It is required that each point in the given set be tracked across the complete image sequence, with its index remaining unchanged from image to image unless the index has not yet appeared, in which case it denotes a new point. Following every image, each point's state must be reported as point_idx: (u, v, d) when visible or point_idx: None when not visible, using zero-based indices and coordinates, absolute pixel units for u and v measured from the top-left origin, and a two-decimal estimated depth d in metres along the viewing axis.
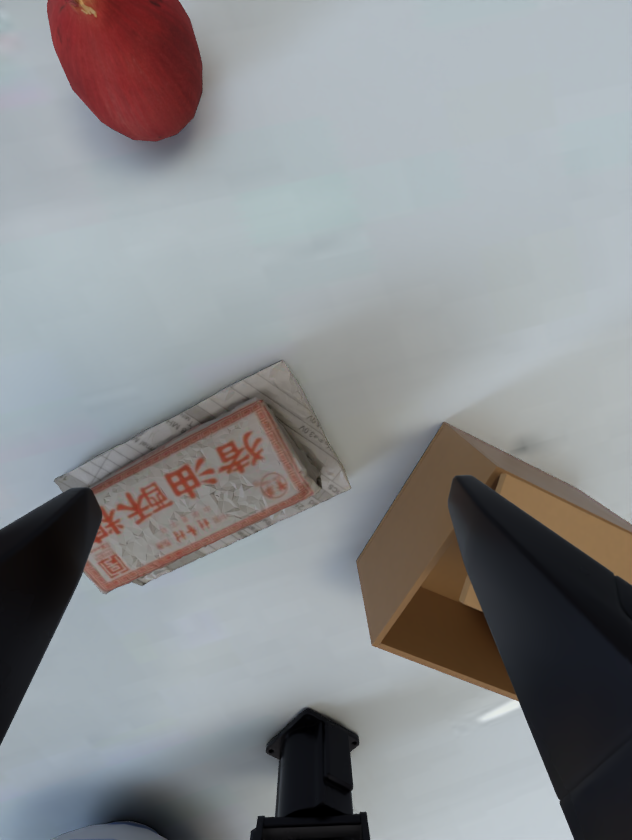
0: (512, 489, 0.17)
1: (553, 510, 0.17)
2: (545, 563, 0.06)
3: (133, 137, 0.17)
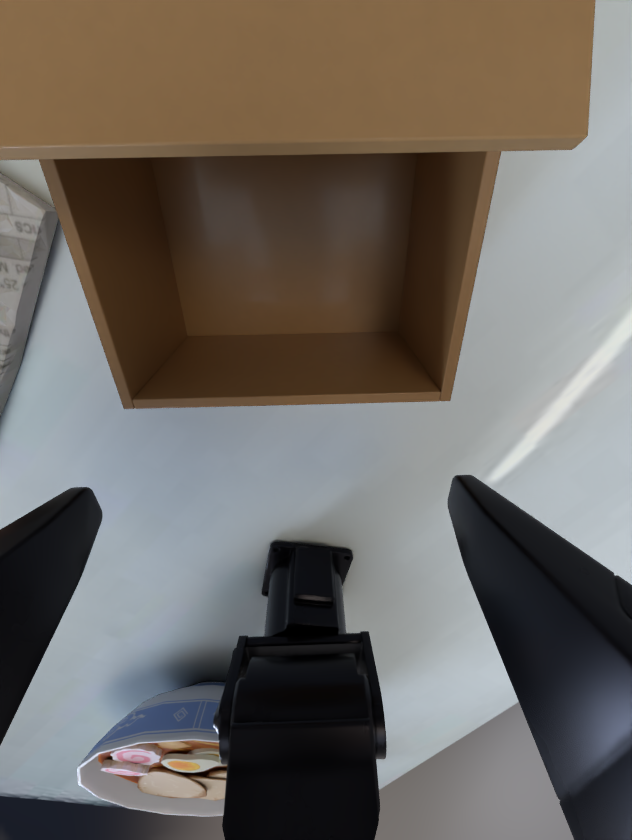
0: None
1: None
2: (545, 563, 0.06)
3: None
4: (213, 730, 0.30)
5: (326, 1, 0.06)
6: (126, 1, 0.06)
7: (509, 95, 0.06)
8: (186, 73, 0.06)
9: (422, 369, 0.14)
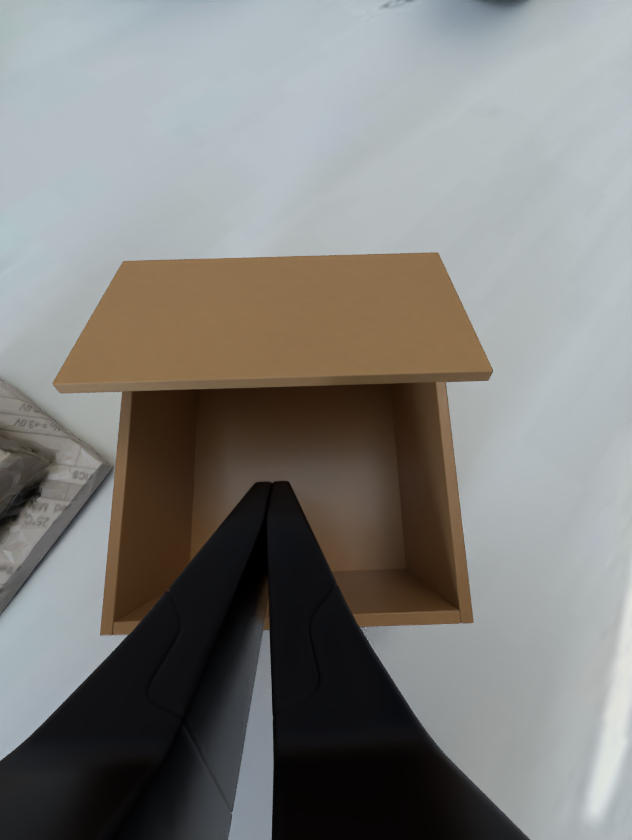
0: (133, 268, 0.13)
1: (201, 267, 0.13)
2: (277, 572, 0.06)
3: None
4: None
5: (318, 324, 0.11)
6: (209, 326, 0.11)
7: (434, 355, 0.10)
8: (235, 350, 0.10)
9: (435, 593, 0.13)
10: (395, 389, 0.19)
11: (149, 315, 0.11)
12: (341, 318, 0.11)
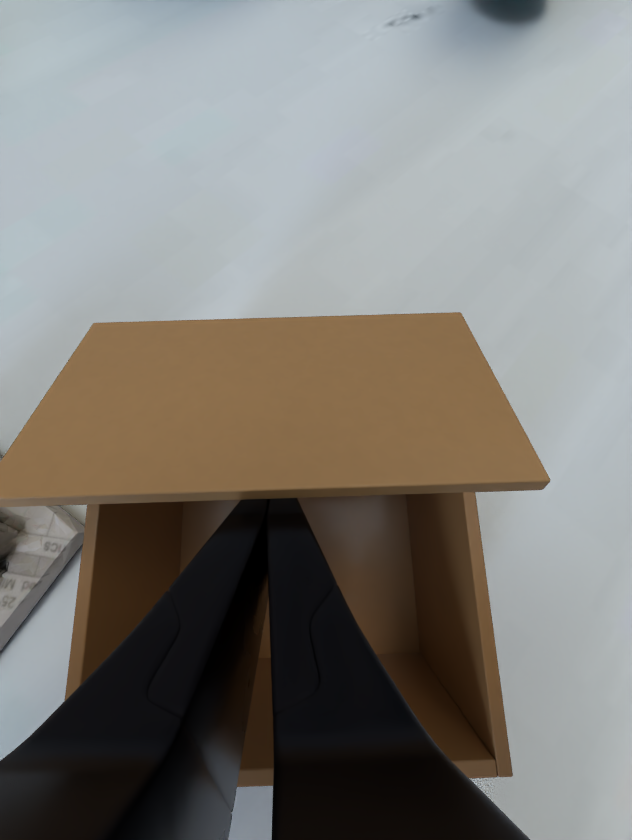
0: (103, 332, 0.11)
1: (184, 331, 0.11)
2: (277, 572, 0.06)
3: None
4: None
5: (323, 409, 0.09)
6: (186, 412, 0.09)
7: (471, 455, 0.08)
8: (217, 448, 0.08)
9: (460, 715, 0.11)
10: None
11: (114, 396, 0.09)
12: (350, 401, 0.09)
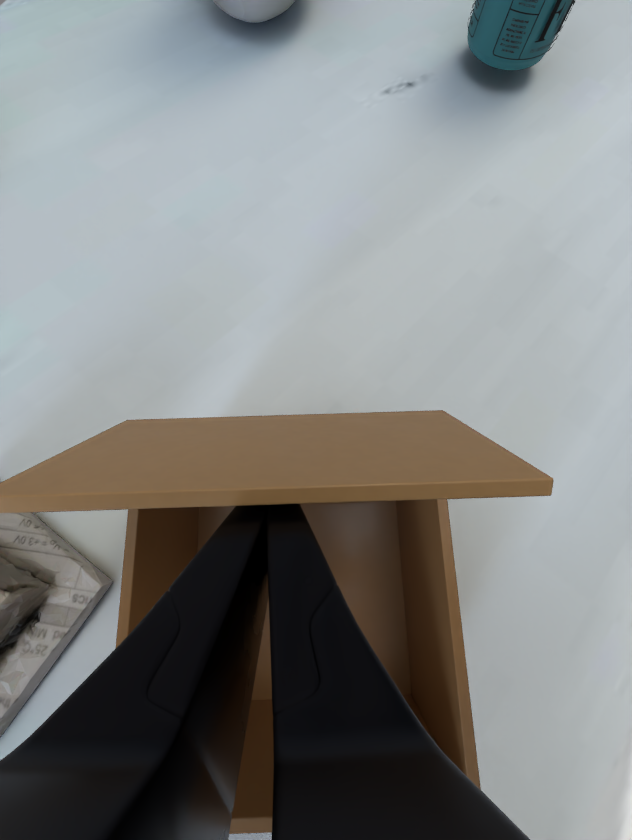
0: (133, 423, 0.13)
1: (203, 421, 0.13)
2: (276, 572, 0.06)
3: None
4: None
5: (323, 450, 0.09)
6: (195, 452, 0.09)
7: (469, 468, 0.08)
8: (221, 468, 0.08)
9: None
10: (399, 503, 0.19)
11: (132, 447, 0.10)
12: (349, 446, 0.10)
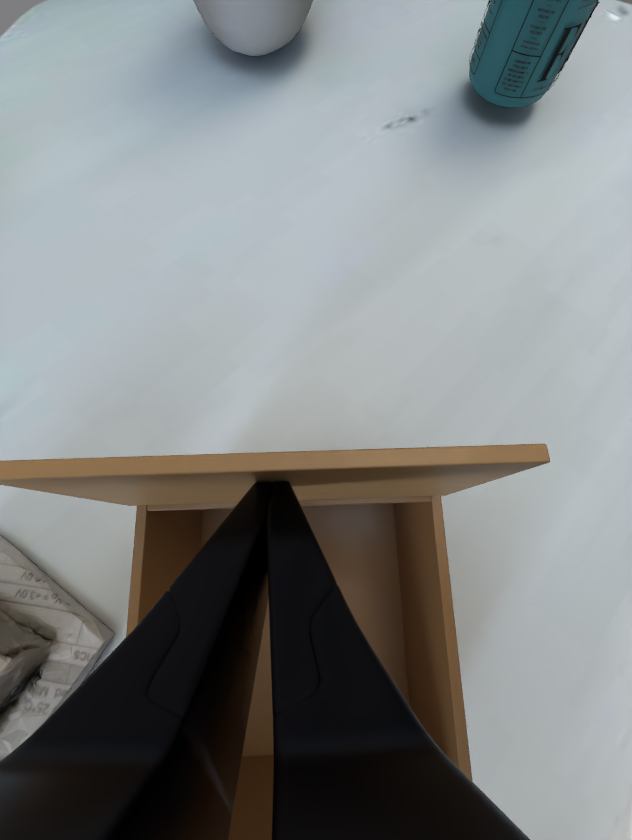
0: None
1: None
2: (277, 572, 0.06)
3: None
4: None
5: None
6: None
7: None
8: None
9: None
10: (401, 555, 0.19)
11: None
12: None
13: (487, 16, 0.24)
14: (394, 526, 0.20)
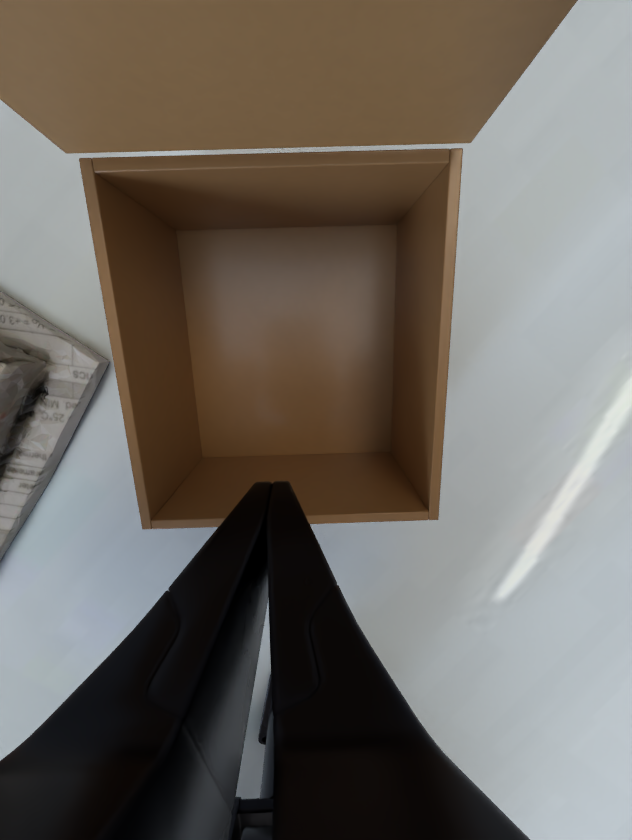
0: None
1: None
2: (277, 572, 0.06)
3: None
4: None
5: None
6: None
7: None
8: None
9: (412, 489, 0.16)
10: (399, 281, 0.18)
11: None
12: None
13: None
14: (395, 252, 0.18)
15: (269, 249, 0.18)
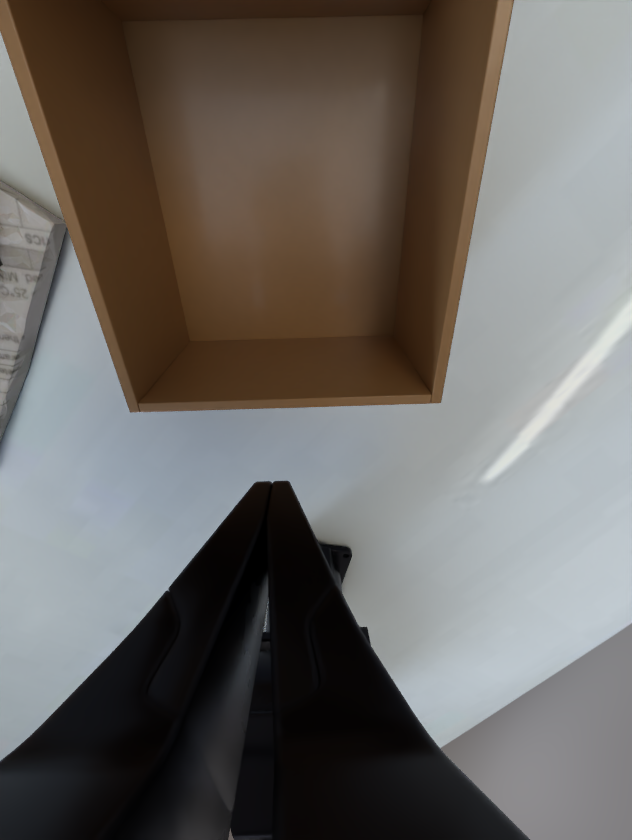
0: None
1: None
2: (277, 572, 0.06)
3: None
4: None
5: None
6: None
7: None
8: None
9: (415, 372, 0.15)
10: (420, 107, 0.14)
11: None
12: None
13: None
14: (417, 63, 0.14)
15: (250, 56, 0.14)
